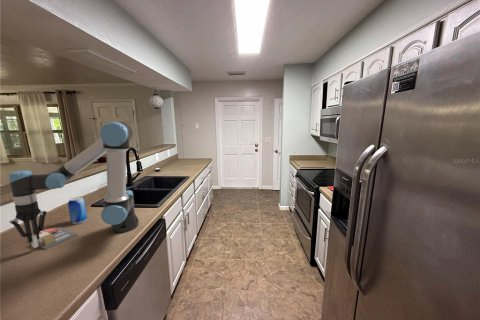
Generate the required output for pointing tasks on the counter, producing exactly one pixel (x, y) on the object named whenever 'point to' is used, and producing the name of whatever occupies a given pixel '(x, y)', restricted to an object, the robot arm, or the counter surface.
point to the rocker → (49, 230)
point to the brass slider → (48, 239)
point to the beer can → (77, 210)
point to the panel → (59, 237)
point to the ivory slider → (42, 236)
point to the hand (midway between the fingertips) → (35, 246)
